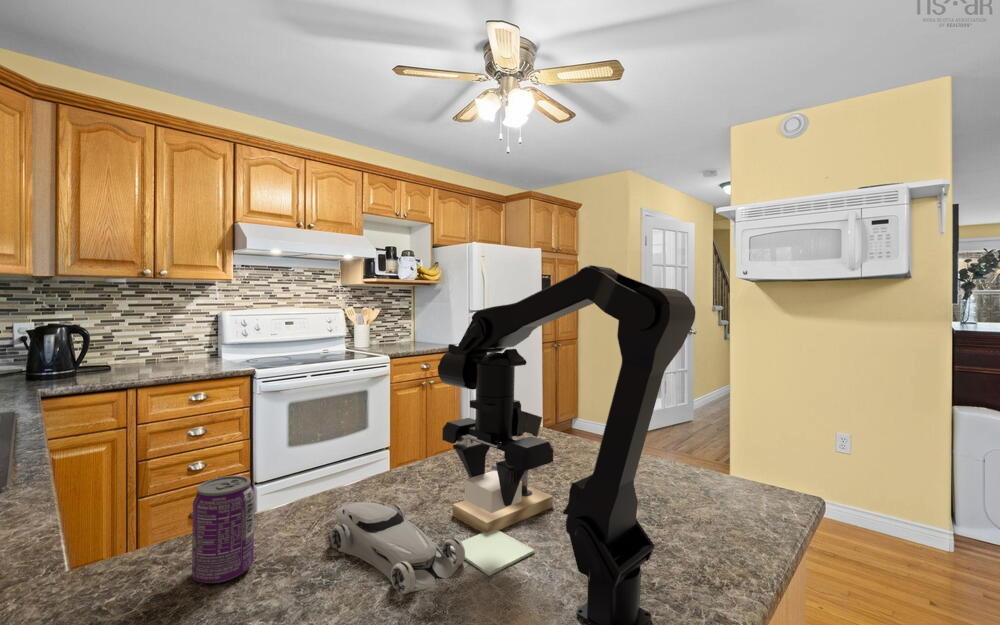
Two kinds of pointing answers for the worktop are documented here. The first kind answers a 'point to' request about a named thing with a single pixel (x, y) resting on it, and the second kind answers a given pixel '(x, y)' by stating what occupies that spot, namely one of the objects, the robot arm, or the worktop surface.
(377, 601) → the worktop surface
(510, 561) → the pad
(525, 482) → the lever handle
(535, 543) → the worktop surface
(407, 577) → the car model
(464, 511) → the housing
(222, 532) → the beverage can
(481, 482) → the cover
